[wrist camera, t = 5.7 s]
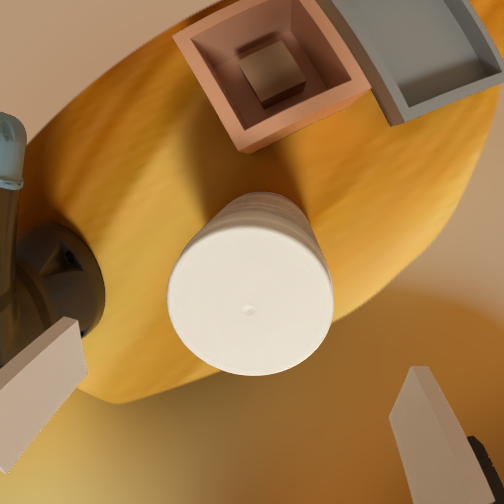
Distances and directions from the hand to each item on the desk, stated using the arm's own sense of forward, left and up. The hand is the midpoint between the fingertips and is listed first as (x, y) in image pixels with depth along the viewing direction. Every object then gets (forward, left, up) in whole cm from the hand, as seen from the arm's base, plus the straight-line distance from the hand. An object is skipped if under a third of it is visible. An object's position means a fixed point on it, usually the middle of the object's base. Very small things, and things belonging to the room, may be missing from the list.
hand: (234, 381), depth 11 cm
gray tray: (+13, +23, -21) cm, 33 cm away
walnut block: (-1, +15, -20) cm, 25 cm away
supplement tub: (0, 0, -21) cm, 21 cm away
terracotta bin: (-1, +15, -21) cm, 26 cm away
